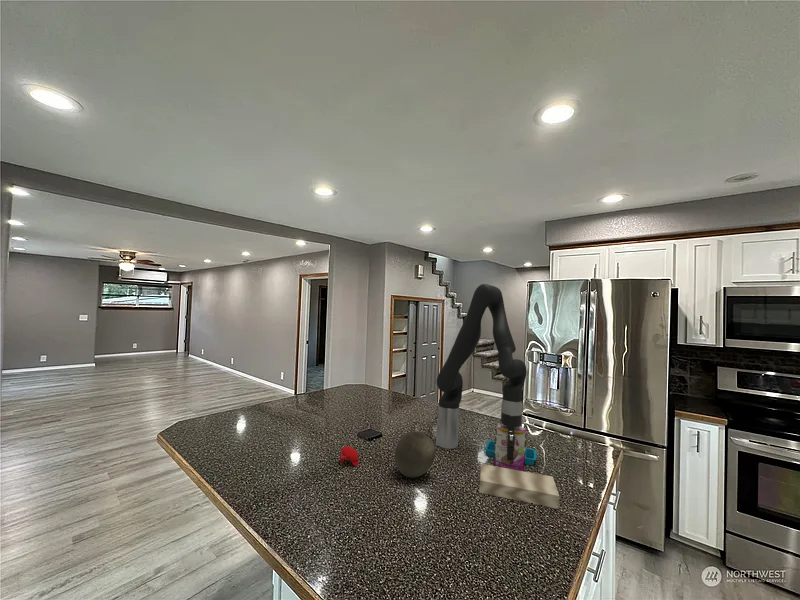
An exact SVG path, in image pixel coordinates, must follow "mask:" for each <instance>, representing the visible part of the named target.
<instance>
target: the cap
mask: <svg viewBox="0 0 800 600" xmlns="http://www.w3.org/2000/svg"><path fill="white" fill-rule="evenodd" d="M346 460H347V462H351V464H352V465H353V466H354V467H358V466H359V462H360V461H359V454H358V451H357V450H355V448H353V447H351V446H348V445H347V446H343V447H342V448H341V451H340V453H339V461H340V465H341V466H344V461H346Z"/></svg>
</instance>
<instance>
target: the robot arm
mask: <svg viewBox="0 0 800 600" xmlns="http://www.w3.org/2000/svg"><path fill="white" fill-rule="evenodd" d="M471 298H472V299H471V301H470V303H469V307H468V310H467V313H466V316H465V318H464V319H463V323H462V325H461V327H460V329H459V331H458V333H457V336H456V338H455V340H454V343H453V346H452V347H451V350H450V352H449V355H448V356H447V359H446V360H445V362H444V364H443V366H442V368H441V370H440V371H439V373H438V374H437V378H436V385H437V388H438V390H439V391H441V392H443V393H442V395H441V397H440V398H439V400H438V410H437V411H438V413H437V415H438V416H437V423H436V431H435V434H436V436H435V446H436V447H437V446H438V447H440V448H443V449H446V450H449V449H450V450H451V449H453V450H454V449H456V448H458V442H459V441H458V439H459V438H458V437H459V422H460V421H459V419H460V403H461V402H462V398H463V397H462V396H463V387H464V386H463V385H464V384H463V383H464V382H463V376H462V374H461V373H460V370H461V369H462V366H463V365H464V364H465V363H466V362H467V360H468V359H469V358H470V357H471V356H472V354H473V353H474V351H475V350H476V348H477V347H478V344H479V341H480V339H481V334H482V319H483V316H484V314H485V311H486V309H487V308H488V310H489V312H490V314H491V319H492V336H493V341H494V344H495V347H496V350H497V360H498V368H499V372H500V373H501V375H502V376H503V377H504V378H506V379H508V381H507V383H504V384H503V386H502V400H501V409H500V413H501V414H500V424H502V425H506V426H508V435H507V436H506V442H507V459H508V460H513V451H514V450H515V448H514V445H515V443H516V438H515V435H514V428H515V427H519V428H521V426H522V424H523V423H522V422H523V421H522V418H523V403H522V400H523V387H524V385H525V382H526V379H527V375H528V374H527V365H526V363H525V362H524V361H523V360H521V359H518V358H513V353H515V352H516V350H517V348H516V345H515V341H514V338H513V335H512V333H511V330H510V326H509V322H508V318H507V314H506V309H505V302H504V298H503V293H502V291H501V289H500V288H499V287H497V286H495V285H491V284H488V283H481V284H479V285H478V286H477V287H476V288H475V290H474V292H473V295H472V297H471ZM507 437H508V440H507ZM509 444H510V445H513V447H510V446H509Z"/></svg>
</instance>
